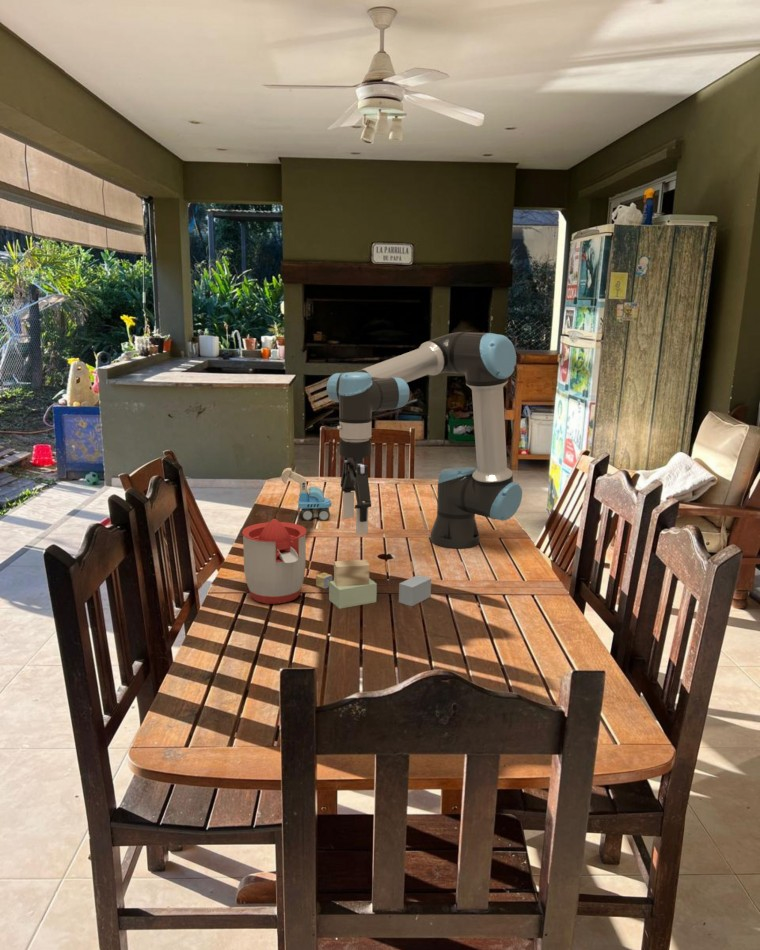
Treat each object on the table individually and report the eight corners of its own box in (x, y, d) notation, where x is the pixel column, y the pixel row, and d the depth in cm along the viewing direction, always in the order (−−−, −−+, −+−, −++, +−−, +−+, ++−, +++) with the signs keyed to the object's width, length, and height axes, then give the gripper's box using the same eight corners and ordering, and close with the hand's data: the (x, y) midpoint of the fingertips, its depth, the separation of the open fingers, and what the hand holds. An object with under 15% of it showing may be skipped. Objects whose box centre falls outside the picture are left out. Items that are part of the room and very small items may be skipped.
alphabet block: (324, 589, 193) (324, 578, 193) (315, 586, 195) (315, 574, 195) (332, 586, 195) (332, 575, 195) (324, 582, 198) (324, 571, 197)
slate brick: (417, 593, 192) (418, 574, 191) (430, 597, 190) (431, 578, 188) (398, 602, 186) (399, 583, 185) (411, 606, 183) (412, 587, 182)
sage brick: (365, 594, 191) (365, 575, 190) (376, 602, 186) (376, 583, 185) (329, 600, 186) (329, 581, 185) (339, 609, 181) (339, 589, 180)
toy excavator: (282, 514, 260) (282, 465, 256) (331, 514, 261) (331, 465, 257) (281, 521, 251) (280, 471, 248) (331, 521, 253) (331, 471, 249)
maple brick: (365, 578, 188) (366, 559, 186) (369, 584, 184) (369, 565, 183) (333, 580, 186) (334, 561, 185) (336, 586, 182) (336, 567, 181)
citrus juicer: (261, 616, 176) (260, 533, 171) (233, 591, 190) (231, 515, 186) (321, 603, 184) (321, 524, 180) (290, 580, 198) (289, 507, 194)
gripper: (328, 430, 188) (328, 512, 193) (352, 450, 165) (352, 542, 170) (357, 429, 190) (357, 510, 195) (385, 448, 167) (384, 540, 172)
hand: (355, 525), depth 182 cm, fingers open, 13 cm apart
